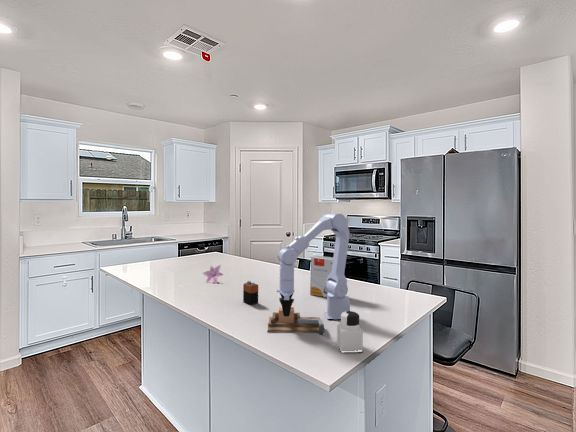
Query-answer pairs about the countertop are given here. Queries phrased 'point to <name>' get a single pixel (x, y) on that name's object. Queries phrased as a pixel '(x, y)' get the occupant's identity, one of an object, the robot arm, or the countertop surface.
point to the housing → (291, 324)
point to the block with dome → (286, 318)
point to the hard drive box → (320, 274)
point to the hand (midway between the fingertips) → (286, 312)
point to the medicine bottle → (349, 332)
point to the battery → (250, 293)
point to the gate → (314, 321)
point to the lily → (213, 274)
